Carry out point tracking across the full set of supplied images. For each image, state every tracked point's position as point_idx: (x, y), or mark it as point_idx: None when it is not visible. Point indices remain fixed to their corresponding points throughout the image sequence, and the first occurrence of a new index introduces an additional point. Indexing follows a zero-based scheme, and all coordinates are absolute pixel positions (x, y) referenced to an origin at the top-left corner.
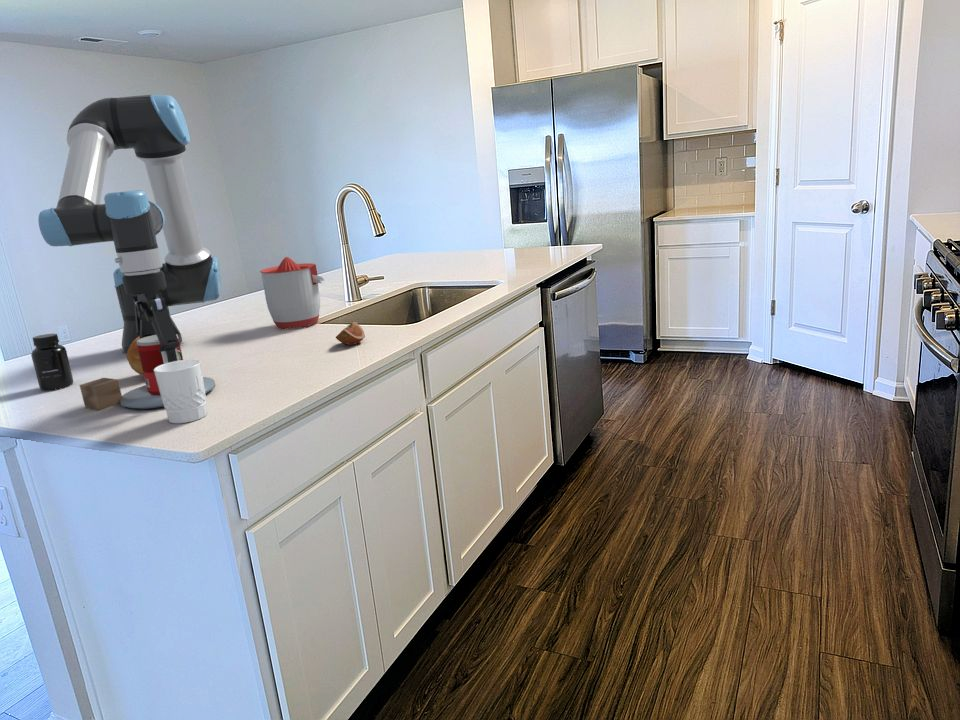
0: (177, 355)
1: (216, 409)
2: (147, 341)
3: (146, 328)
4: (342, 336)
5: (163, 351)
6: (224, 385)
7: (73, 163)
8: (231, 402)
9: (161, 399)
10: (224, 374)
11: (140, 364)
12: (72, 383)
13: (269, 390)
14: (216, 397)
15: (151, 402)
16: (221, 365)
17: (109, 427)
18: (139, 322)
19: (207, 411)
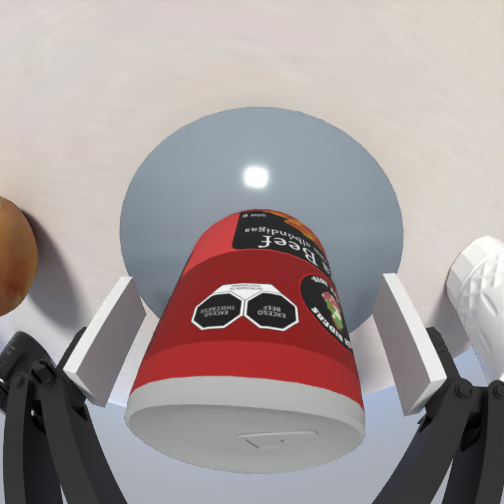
0: (434, 350)
1: (493, 213)
2: (236, 455)
3: (97, 459)
4: None
5: (419, 408)
6: (306, 82)
7: None
8: (488, 166)
9: (349, 301)
10: (139, 47)
11: (28, 287)
12: (28, 335)
13: (482, 53)
14: (422, 165)
15: (348, 322)
16: (35, 60)
17: (371, 370)
18: (53, 464)
19: (499, 240)
